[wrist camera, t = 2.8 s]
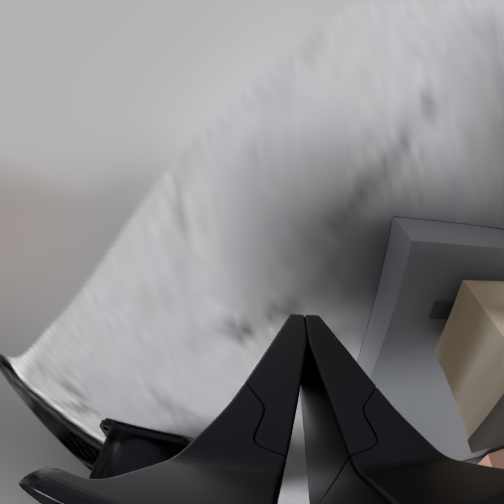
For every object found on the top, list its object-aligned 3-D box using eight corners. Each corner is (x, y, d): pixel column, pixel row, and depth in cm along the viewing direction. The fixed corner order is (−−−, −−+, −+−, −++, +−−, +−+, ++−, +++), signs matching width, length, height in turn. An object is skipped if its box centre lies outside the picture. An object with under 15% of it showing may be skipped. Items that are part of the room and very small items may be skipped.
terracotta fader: (467, 473, 16) (478, 519, 12) (487, 453, 14) (502, 503, 10) (503, 462, 15) (516, 503, 11) (524, 441, 14) (540, 485, 10)
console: (315, 470, 19) (315, 494, 17) (393, 216, 11) (413, 241, 9) (505, 441, 18) (511, 458, 16) (618, 249, 9) (636, 265, 7)
